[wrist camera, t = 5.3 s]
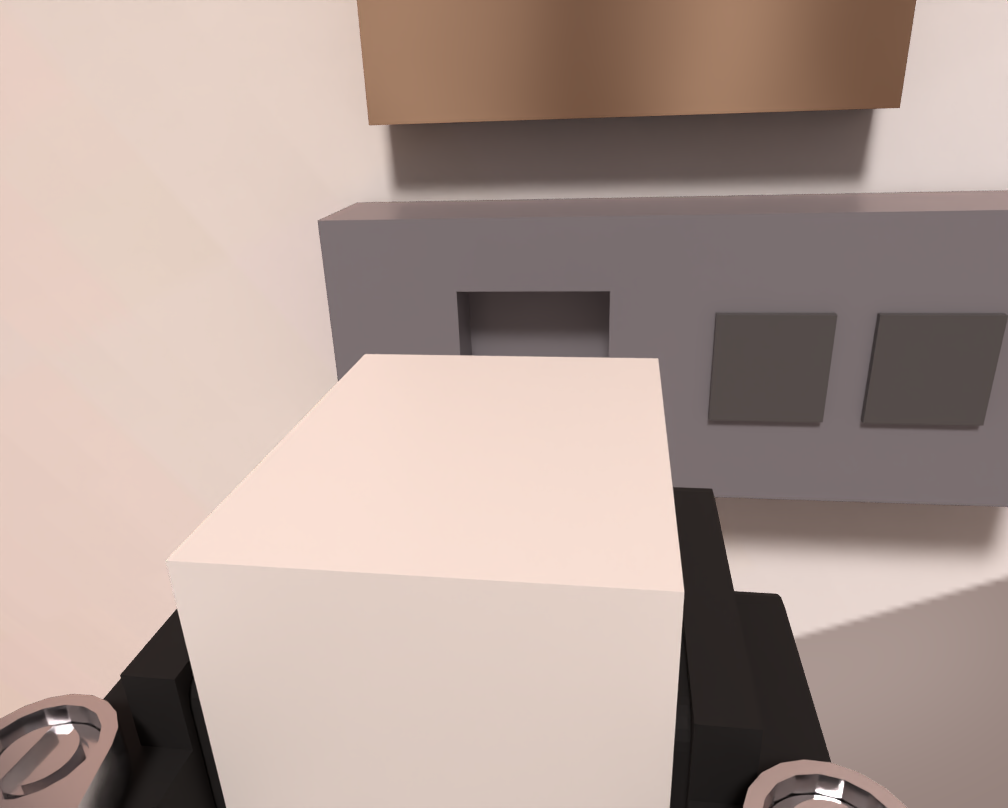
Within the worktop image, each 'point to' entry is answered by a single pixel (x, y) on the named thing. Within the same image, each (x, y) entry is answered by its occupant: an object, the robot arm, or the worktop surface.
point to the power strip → (724, 323)
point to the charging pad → (628, 57)
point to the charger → (447, 593)
